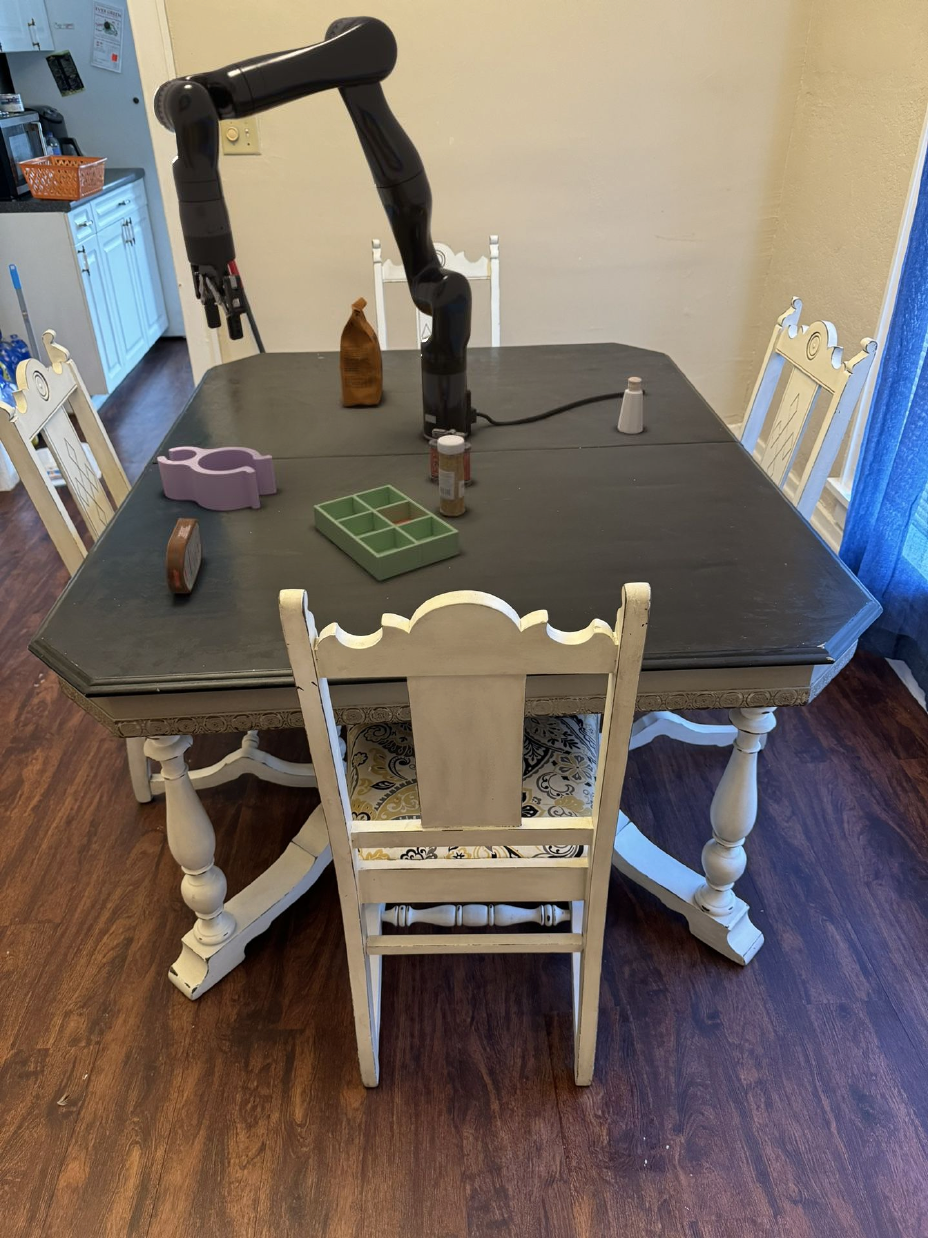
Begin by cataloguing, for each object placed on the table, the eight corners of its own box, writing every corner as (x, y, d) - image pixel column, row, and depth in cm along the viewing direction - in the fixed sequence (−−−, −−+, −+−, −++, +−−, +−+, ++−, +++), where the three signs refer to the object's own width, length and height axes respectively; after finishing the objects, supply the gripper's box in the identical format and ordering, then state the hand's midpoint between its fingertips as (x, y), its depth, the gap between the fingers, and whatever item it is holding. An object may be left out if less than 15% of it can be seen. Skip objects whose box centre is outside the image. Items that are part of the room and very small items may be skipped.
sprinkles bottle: (470, 513, 152) (469, 440, 145) (448, 519, 150) (446, 446, 143) (455, 503, 155) (454, 432, 148) (434, 510, 153) (432, 437, 146)
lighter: (473, 480, 164) (473, 429, 158) (467, 487, 161) (467, 436, 156) (433, 474, 166) (432, 424, 161) (427, 481, 164) (425, 431, 158)
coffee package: (389, 391, 207) (384, 295, 195) (380, 409, 197) (374, 309, 185) (348, 390, 208) (340, 295, 196) (337, 408, 198) (328, 308, 186)
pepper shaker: (614, 432, 184) (619, 380, 178) (620, 423, 188) (625, 373, 182) (639, 435, 182) (645, 383, 176) (645, 426, 187) (650, 376, 180)
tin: (188, 555, 140) (178, 508, 136) (208, 554, 140) (199, 507, 136) (170, 605, 128) (158, 554, 123) (191, 603, 128) (181, 553, 123)
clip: (152, 502, 157) (144, 466, 153) (188, 475, 167) (181, 440, 163) (252, 514, 152) (246, 477, 149) (283, 485, 162) (278, 450, 159)
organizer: (390, 505, 155) (389, 484, 153) (459, 553, 140) (458, 531, 138) (315, 527, 148) (313, 505, 146) (379, 580, 133) (377, 557, 131)
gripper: (249, 232, 134) (265, 338, 143) (210, 219, 143) (228, 319, 152) (203, 240, 130) (223, 348, 139) (166, 226, 139) (187, 328, 149)
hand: (225, 333), depth 146 cm, fingers open, 8 cm apart
